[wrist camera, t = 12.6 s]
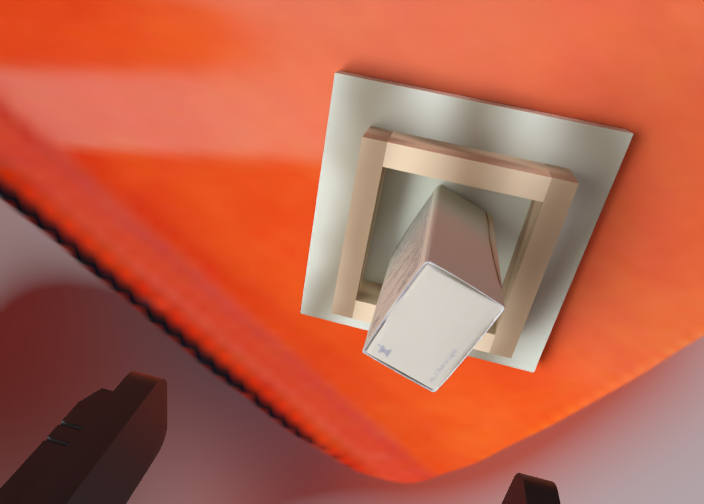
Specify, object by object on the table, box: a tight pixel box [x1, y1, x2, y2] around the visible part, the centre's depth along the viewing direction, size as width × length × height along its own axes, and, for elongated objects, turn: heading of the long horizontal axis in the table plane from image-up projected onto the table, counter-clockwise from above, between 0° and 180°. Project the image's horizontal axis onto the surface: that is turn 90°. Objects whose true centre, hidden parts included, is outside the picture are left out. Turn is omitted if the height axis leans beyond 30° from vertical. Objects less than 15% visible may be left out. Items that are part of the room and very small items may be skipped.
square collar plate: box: [300, 71, 633, 372], centre depth 34 cm, size 18×18×4 cm
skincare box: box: [363, 185, 505, 392], centre depth 30 cm, size 6×4×12 cm
